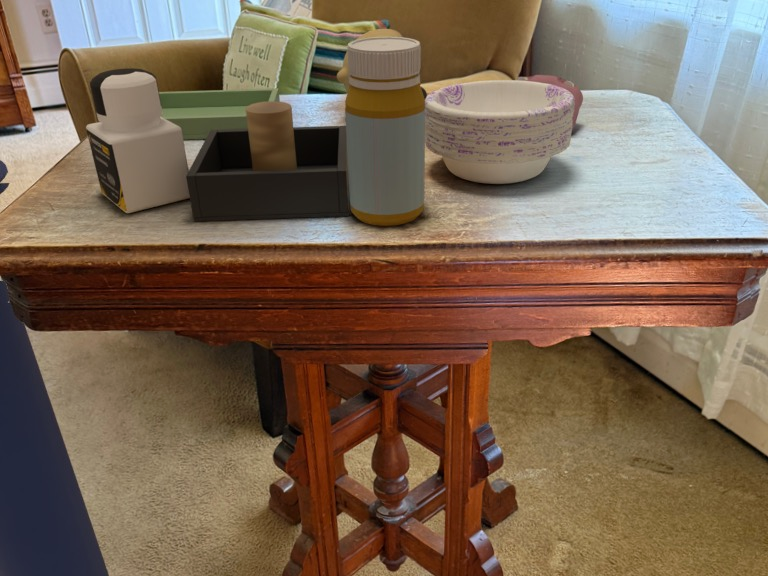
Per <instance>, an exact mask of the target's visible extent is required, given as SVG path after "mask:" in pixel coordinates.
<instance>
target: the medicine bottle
mask: <svg viewBox="0 0 768 576" xmlns="http://www.w3.org/2000/svg"><path fill="white" fill-rule="evenodd" d="M157 79H158V78H157V77H156V75H154V73H152V72H150V71H148V70H145V69H142V68H134V67H133V68H132V67H130V68H116V69H109V70H106V71H103V72H99V73H98V74H96V75H95V76H94V77H93V78H91V80H90V82H89V87H90V93H91V95H92V101H93V104H94V109H95V112H96V113H95V114H96V117H97V120H98V121H97V122H93V123H89V124H87V125H86V126H85V131H86V134H87V139H88V142H89V147H90V151H91V155H92V159H93V163H94V167H95V171H96V175H97V179H98V183H99V187H100V192H101V194H102V195H103V196H104V197H106V199H108V200H109V201H111V202H112V204H114V205H115V206H117V207H118V208H119V209H120V210H122V211H123V212H124V213H125V214H132V213H135V212H139V211H140V212H141V211H143V210H147V209H151V208H154V207H155V208H156V207H160V206H164V205H168V204H172V203H176V202H180V201H184V200H187V199H190V196H189V190H188V185H187V179H186V175H187V174H188V172H189V170H190V168H189V163H188V158H187V154H186V146H185V140H183V135H182V130H181V128H180V127H179V126H177V125H175V124H173V123H172V122H170V121H168V120H166V119H164V118H162V117H160V116H162V114H163V112H162V106H161V101H160V95H159V92H160V90H159V85H158V80H157Z"/></svg>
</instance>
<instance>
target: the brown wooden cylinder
mask: <svg viewBox="0 0 768 576" xmlns="http://www.w3.org/2000/svg"><path fill="white" fill-rule="evenodd" d="M292 110H293V109H292V105H291V104H290V103H288V102H284V101H280V102H278V101H268V102H259V103H255V104H251V105H249V106H247V107H246V117H247V125H248V133H249V142H250V150H251V158H252V166H253V171H270V170H297V163H296V152H295V141H294V130H293V127H294V120H293V111H292Z"/></svg>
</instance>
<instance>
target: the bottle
mask: <svg viewBox="0 0 768 576" xmlns="http://www.w3.org/2000/svg"><path fill="white" fill-rule="evenodd" d="M346 48H347V49H346V52H348V70H349V73H350V74H349V83H350V86H349V90H348V93H347V92H346V93H347V94H346V97H345V100H344V104H345V105H344V106H345V107H344V113H345V115H344V116H345V126H346V137H347V157H348V177H349V196H348V199H349V208H350V211H351V213H352V214H353V215H354V216H355V218H357V219H358V220H359V221H360V222H363V223H365V224H368V225H373V226H379V227H380V226H381V227H390V226H391V227H392V226H400V225H404V224H405V225H406V224H408V223H410V222H412V221H414V220H416V219H417V218H418V217H419V216H420V214H421V213H422V212H423V211H424V208H425V188H426V187H425V186H426V185H425V181H426V180H425V179H426V177H425V173H426V172H425V171H426V165H425V164H426V144H425V99H424V95H423V92H422V89H421V87H422V86H421V85H420V83H419V82H421V72H420V71H421V65H422V64H421V63H422V62H421V60H422V52H421V51H422V47H421V42H420V41H419V40H417V39H414V38H409V37H404V36H402V37H373V38H364V39H359V40H356V39H355V40H351V41H349V42H348V43H347V47H346Z"/></svg>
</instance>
